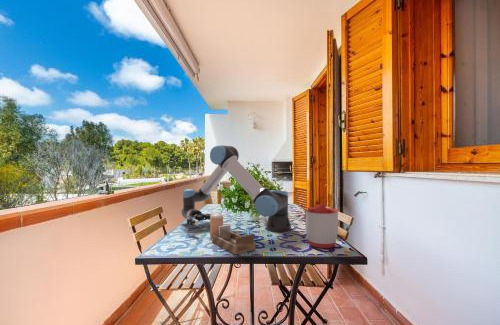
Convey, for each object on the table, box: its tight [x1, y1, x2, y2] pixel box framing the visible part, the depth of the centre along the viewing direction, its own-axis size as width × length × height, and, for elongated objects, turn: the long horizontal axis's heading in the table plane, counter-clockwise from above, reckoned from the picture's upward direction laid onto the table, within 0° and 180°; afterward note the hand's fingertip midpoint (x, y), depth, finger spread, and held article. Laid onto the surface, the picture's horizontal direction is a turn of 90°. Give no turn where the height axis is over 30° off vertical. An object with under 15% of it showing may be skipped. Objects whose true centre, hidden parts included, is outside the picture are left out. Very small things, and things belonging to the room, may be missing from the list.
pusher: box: [219, 224, 231, 240], centre depth 129 cm, size 1×6×7 cm, turn 125°
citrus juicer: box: [301, 203, 339, 249], centre depth 123 cm, size 16×17×20 cm
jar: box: [209, 213, 224, 240], centre depth 137 cm, size 7×7×12 cm
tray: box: [211, 231, 257, 255], centre depth 123 cm, size 22×11×7 cm, turn 35°
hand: (209, 221), depth 144 cm, fingers open, 13 cm apart
